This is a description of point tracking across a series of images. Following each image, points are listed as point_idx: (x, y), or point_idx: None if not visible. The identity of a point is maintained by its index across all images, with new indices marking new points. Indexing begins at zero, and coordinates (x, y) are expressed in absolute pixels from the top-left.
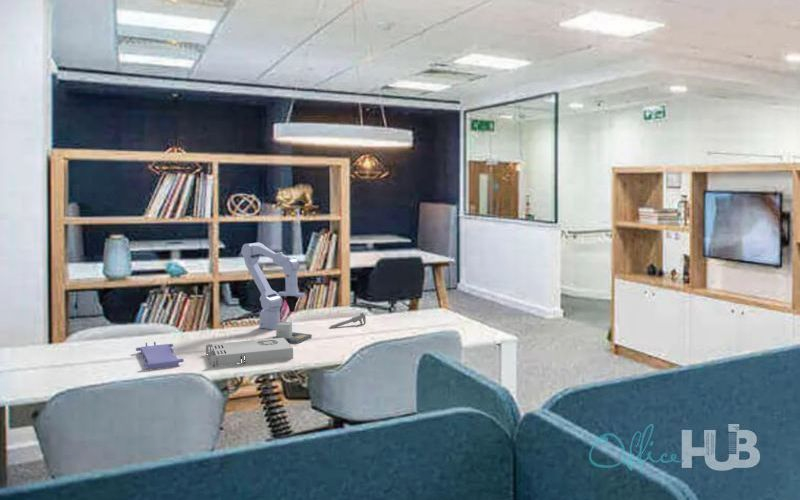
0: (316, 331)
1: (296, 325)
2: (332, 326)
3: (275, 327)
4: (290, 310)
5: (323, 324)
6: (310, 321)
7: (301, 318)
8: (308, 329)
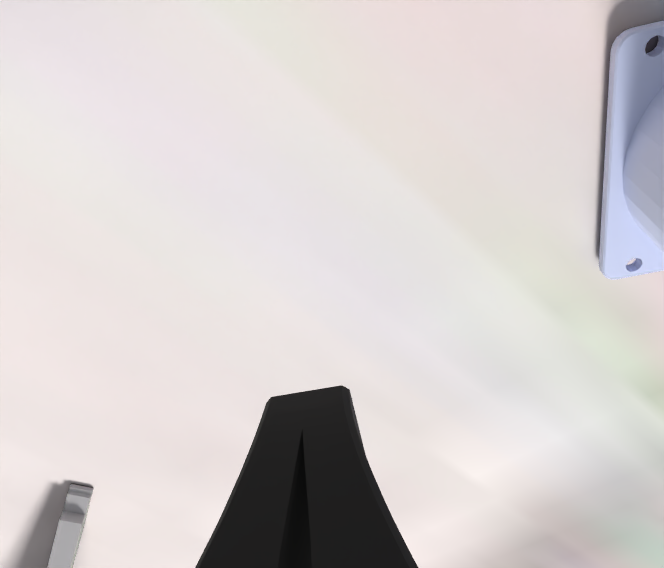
0: (33, 343)
1: (480, 389)
2: (60, 521)
3: (646, 110)
4: (309, 415)
5: None
6: (465, 539)
7: (623, 557)
8: (200, 351)
